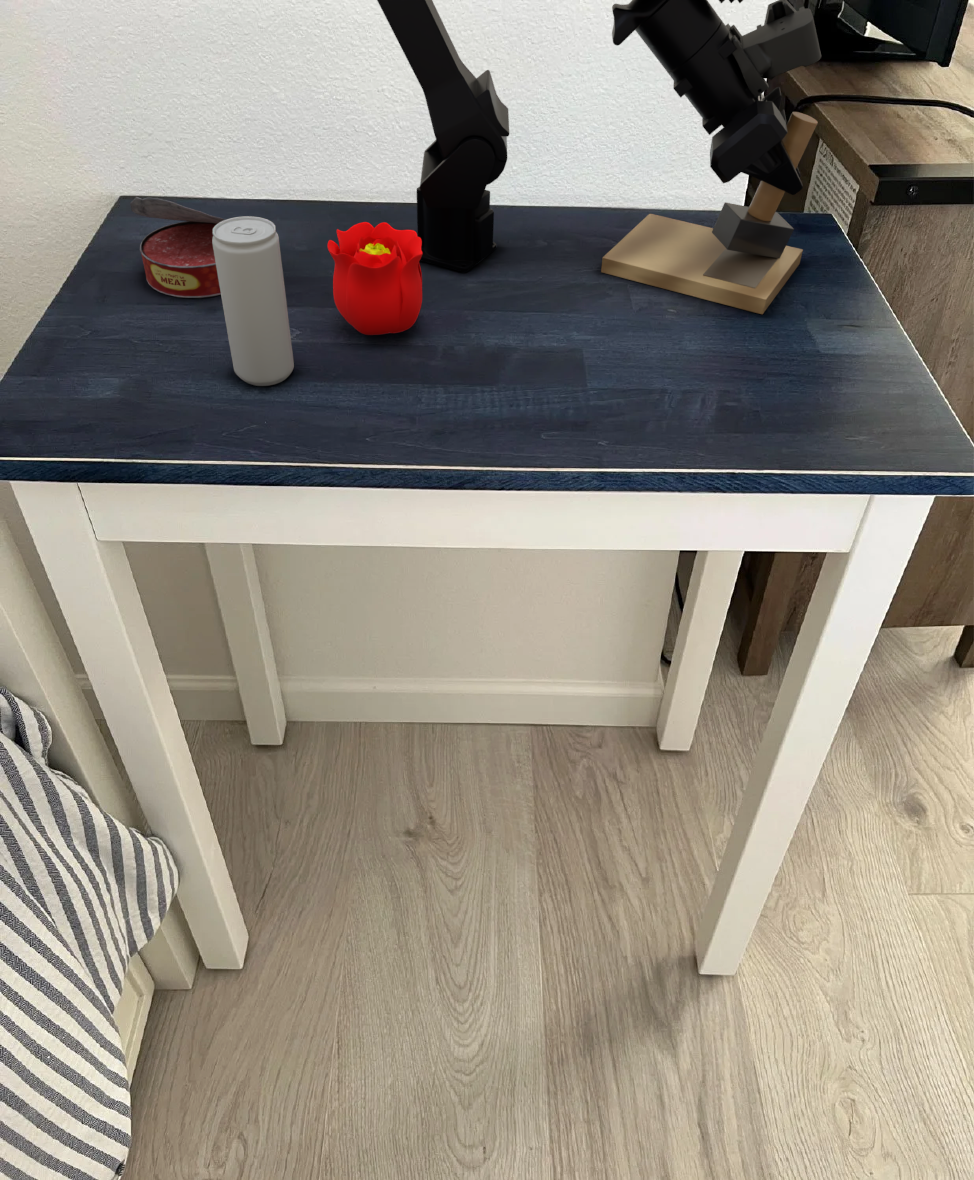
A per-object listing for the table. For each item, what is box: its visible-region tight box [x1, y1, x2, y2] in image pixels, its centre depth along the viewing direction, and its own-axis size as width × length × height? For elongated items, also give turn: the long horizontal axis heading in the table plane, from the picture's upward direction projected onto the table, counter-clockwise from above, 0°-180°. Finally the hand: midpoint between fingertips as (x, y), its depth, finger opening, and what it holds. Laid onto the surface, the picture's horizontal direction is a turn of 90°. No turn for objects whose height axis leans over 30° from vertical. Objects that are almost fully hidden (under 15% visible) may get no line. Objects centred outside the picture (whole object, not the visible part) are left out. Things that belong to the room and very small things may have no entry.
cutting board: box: [600, 213, 804, 315], centre depth 97 cm, size 16×12×2 cm
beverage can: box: [212, 215, 295, 387], centre depth 78 cm, size 5×5×12 cm
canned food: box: [129, 196, 226, 299], centre depth 92 cm, size 11×10×10 cm
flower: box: [327, 221, 423, 336], centre depth 85 cm, size 8×8×8 cm
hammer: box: [712, 111, 818, 259], centre depth 92 cm, size 6×4×12 cm, turn 106°
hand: (797, 185), depth 92 cm, fingers closed on hammer, 2 cm apart
